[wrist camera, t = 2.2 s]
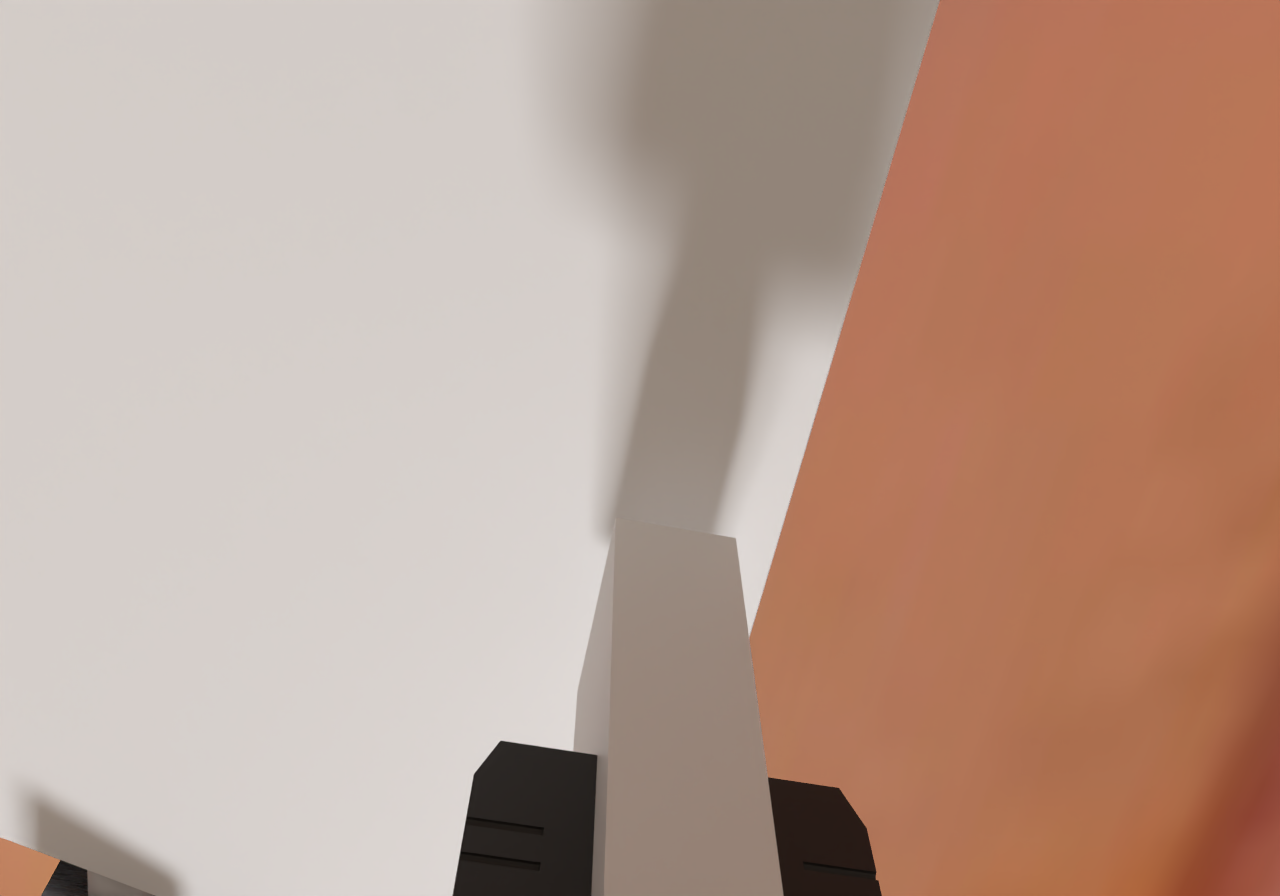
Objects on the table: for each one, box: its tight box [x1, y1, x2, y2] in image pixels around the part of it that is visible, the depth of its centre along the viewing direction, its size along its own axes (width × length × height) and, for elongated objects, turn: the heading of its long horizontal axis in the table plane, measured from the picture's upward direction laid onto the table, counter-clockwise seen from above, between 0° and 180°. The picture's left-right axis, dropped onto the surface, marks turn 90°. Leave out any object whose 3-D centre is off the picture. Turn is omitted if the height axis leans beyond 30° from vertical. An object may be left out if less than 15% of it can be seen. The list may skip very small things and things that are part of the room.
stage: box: [0, 0, 940, 896], centre depth 18 cm, size 20×22×2 cm
